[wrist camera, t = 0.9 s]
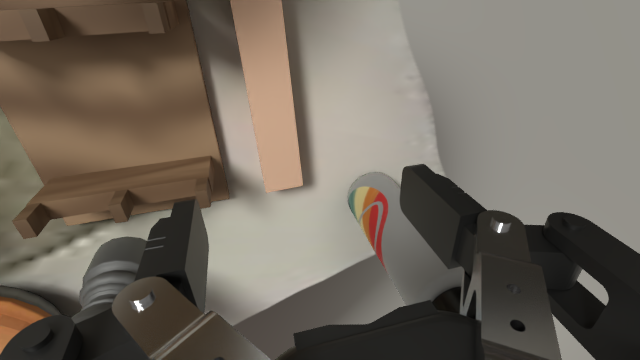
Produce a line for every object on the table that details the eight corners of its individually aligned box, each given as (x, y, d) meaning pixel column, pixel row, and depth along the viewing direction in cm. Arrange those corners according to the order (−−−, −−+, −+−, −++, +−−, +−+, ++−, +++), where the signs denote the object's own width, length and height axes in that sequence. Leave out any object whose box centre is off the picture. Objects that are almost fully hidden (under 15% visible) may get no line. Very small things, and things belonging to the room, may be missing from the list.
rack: (-74, -50, 19) (-206, -70, 13) (174, -55, 22) (155, -74, 16) (71, 219, 29) (32, 275, 23) (229, 193, 32) (229, 238, 26)
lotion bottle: (336, 205, 36) (434, 389, 19) (364, 163, 34) (498, 325, 17) (375, 219, 39) (490, 394, 22) (403, 181, 37) (552, 339, 20)
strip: (222, -38, 23) (222, -42, 21) (270, -41, 24) (276, -45, 21) (263, 177, 33) (266, 192, 30) (296, 171, 33) (303, 185, 31)
